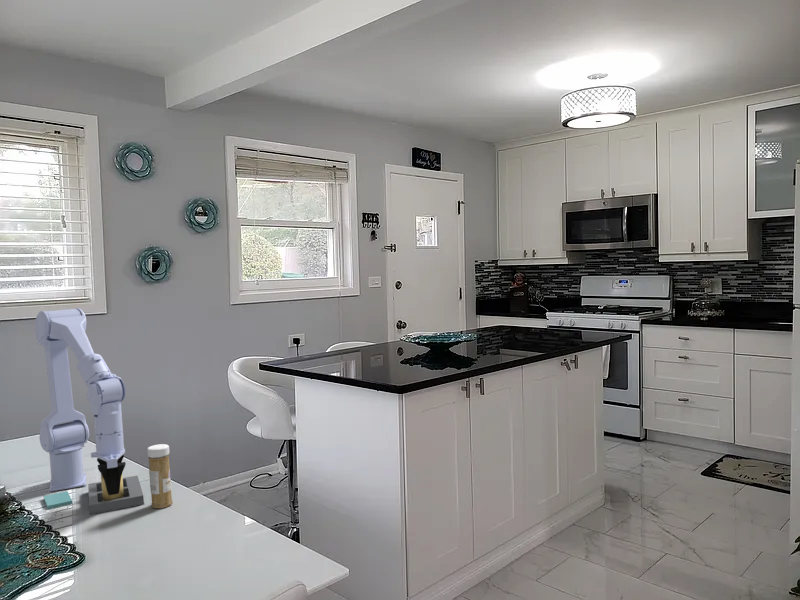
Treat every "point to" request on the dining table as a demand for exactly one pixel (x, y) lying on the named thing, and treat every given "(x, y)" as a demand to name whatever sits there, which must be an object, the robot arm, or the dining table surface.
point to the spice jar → (159, 475)
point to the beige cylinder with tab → (111, 497)
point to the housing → (130, 490)
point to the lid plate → (57, 500)
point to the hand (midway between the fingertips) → (113, 490)
